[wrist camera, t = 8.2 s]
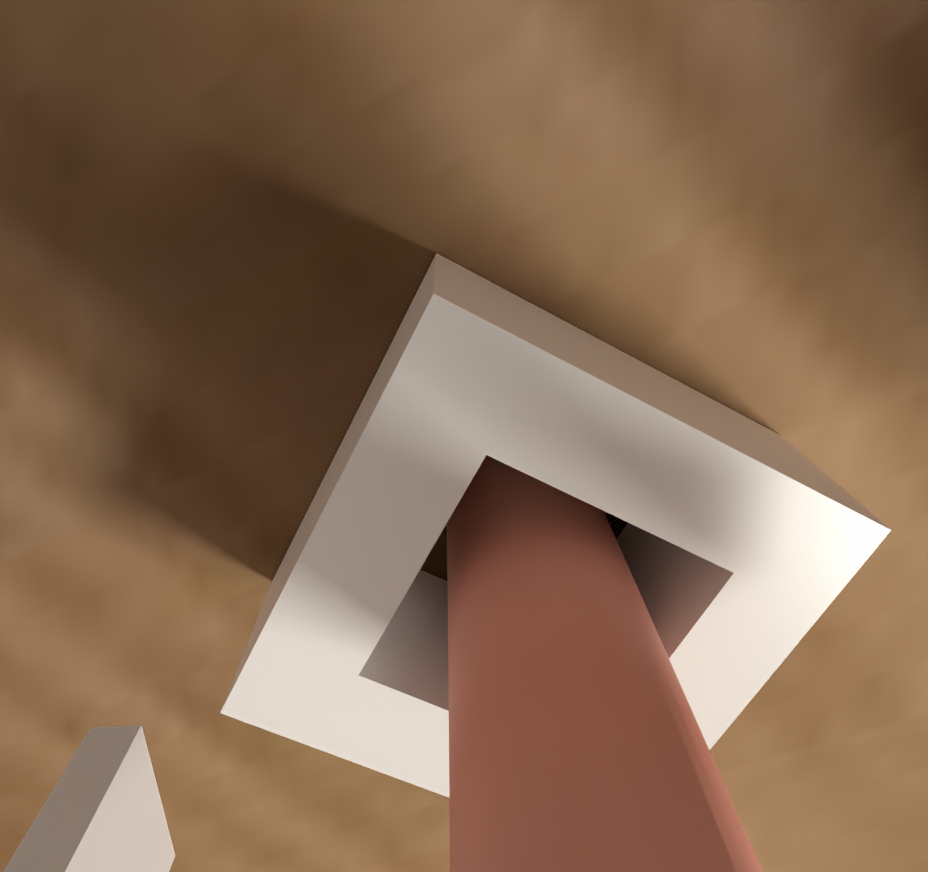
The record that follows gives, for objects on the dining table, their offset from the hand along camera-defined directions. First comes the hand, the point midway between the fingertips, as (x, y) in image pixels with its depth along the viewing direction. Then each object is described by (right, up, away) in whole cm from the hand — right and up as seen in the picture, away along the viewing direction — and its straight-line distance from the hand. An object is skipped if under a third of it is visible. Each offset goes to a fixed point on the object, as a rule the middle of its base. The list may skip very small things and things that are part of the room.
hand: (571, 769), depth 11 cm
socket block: (0, +3, +8) cm, 9 cm away
